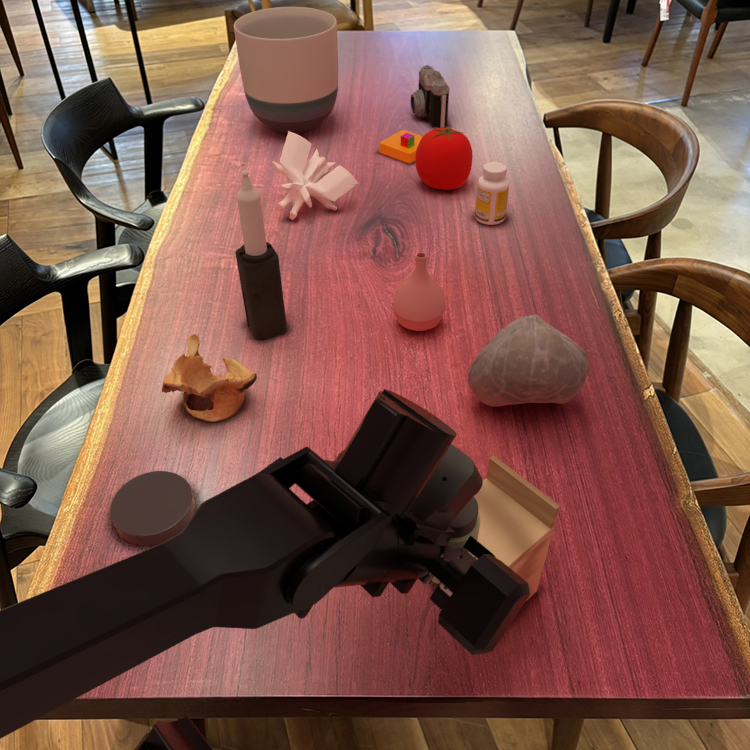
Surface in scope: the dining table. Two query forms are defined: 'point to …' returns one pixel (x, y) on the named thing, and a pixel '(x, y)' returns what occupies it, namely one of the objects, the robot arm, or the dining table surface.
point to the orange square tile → (401, 146)
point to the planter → (289, 66)
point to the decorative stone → (528, 365)
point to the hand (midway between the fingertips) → (458, 542)
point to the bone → (209, 383)
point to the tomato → (444, 158)
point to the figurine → (310, 176)
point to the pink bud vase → (419, 299)
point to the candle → (258, 268)
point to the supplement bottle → (492, 194)
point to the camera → (431, 97)
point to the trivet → (152, 508)
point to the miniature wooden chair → (515, 521)
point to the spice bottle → (464, 527)
